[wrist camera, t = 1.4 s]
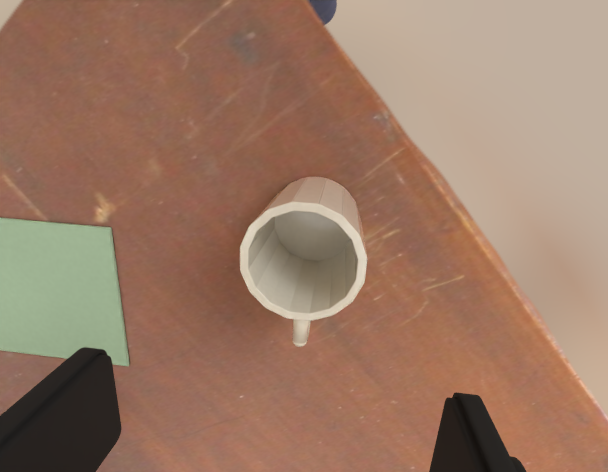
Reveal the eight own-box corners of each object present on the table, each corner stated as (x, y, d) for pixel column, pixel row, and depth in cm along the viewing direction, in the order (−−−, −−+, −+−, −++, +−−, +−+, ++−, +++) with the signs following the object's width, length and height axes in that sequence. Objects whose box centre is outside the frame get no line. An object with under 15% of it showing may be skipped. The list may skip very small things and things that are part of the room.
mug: (271, 173, 26) (239, 197, 18) (364, 179, 26) (374, 208, 18) (268, 291, 29) (240, 355, 21) (351, 299, 29) (353, 369, 21)
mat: (-40, 213, 30) (-44, 214, 30) (111, 227, 29) (109, 228, 29) (-3, 347, 35) (-5, 349, 35) (129, 364, 34) (128, 366, 33)
